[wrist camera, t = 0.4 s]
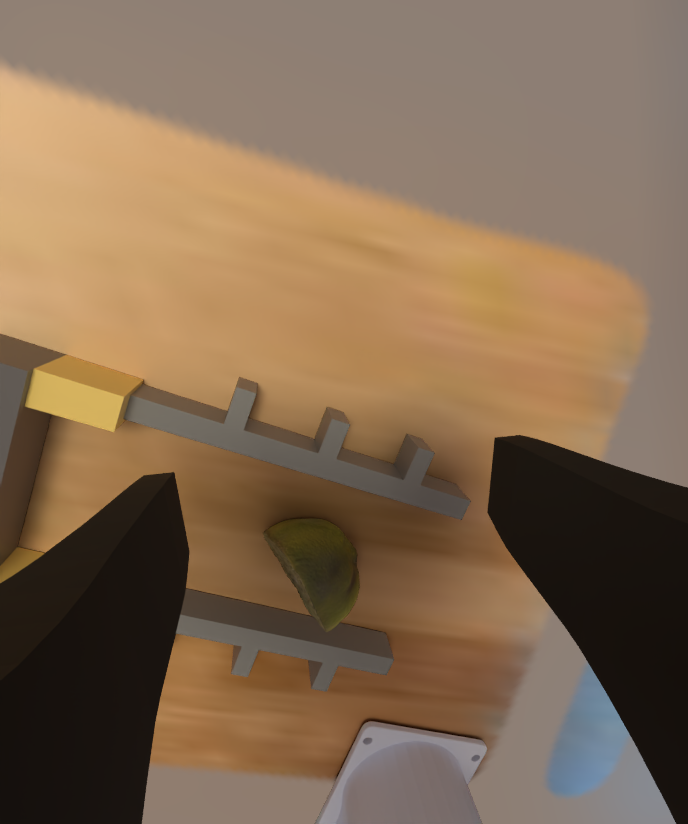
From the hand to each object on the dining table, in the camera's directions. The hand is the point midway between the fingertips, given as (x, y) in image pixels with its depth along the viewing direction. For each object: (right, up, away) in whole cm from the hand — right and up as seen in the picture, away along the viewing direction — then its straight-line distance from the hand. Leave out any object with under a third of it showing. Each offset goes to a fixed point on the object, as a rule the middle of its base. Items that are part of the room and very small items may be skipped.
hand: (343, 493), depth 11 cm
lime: (-2, -4, +12) cm, 13 cm away
